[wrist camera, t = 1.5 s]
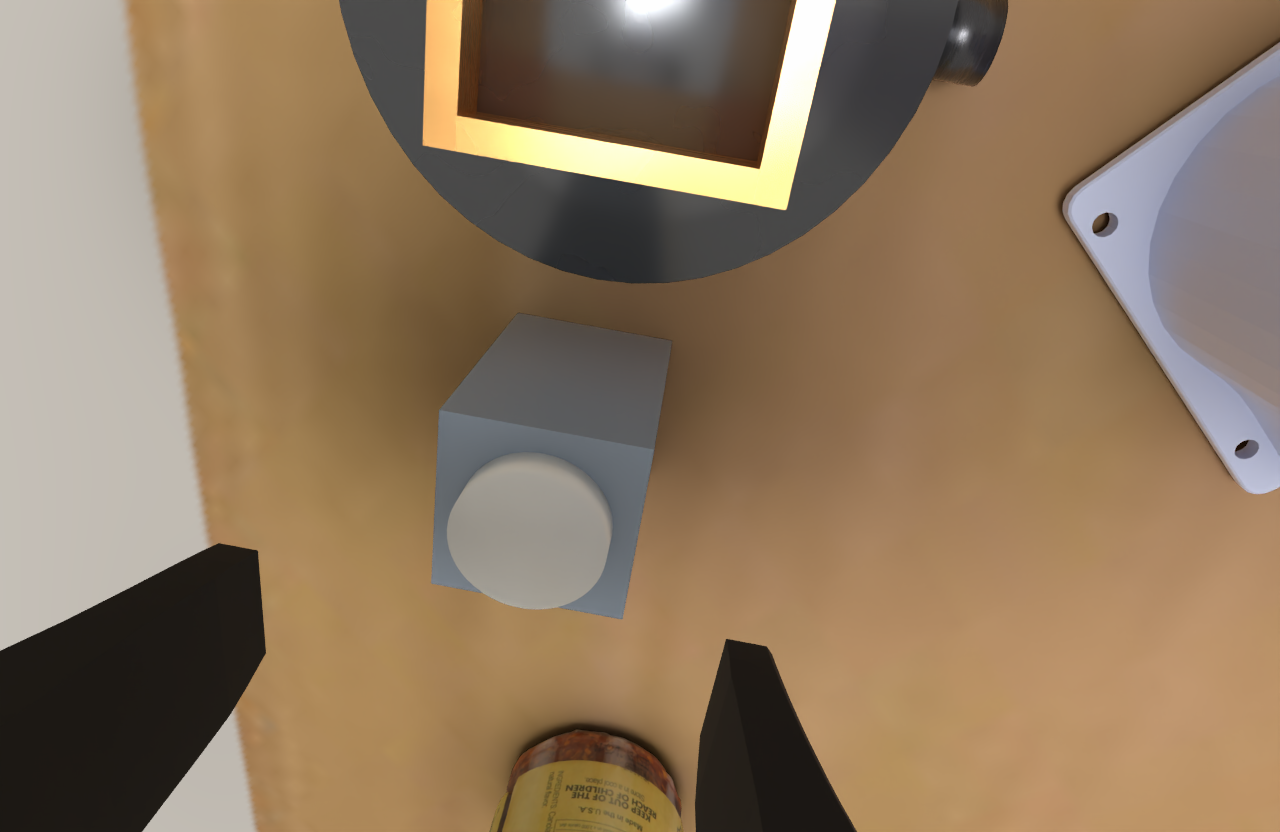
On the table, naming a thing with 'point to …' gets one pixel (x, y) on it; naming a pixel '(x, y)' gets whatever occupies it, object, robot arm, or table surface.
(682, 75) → the grey disc square socket
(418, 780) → the table surface
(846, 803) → the table surface
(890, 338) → the table surface
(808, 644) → the table surface
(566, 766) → the sauce bottle
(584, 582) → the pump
